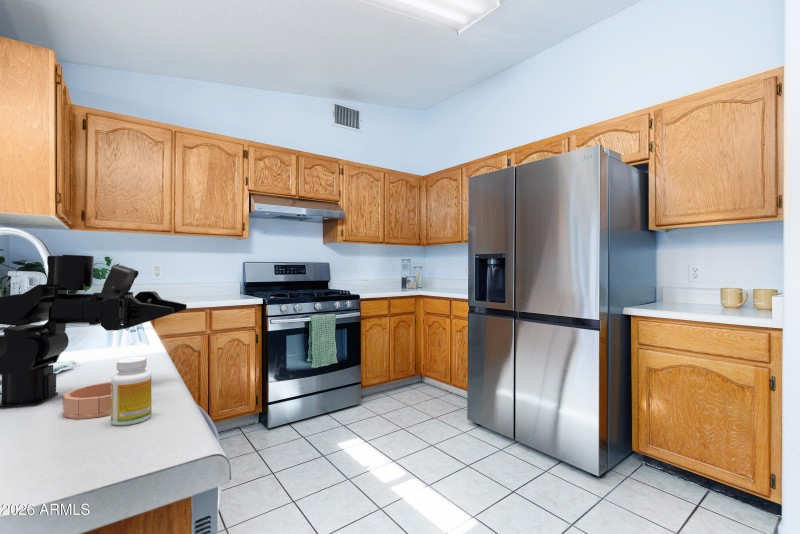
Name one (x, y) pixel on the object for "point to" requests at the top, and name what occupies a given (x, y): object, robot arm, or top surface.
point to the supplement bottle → (131, 392)
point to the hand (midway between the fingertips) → (180, 308)
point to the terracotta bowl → (88, 402)
